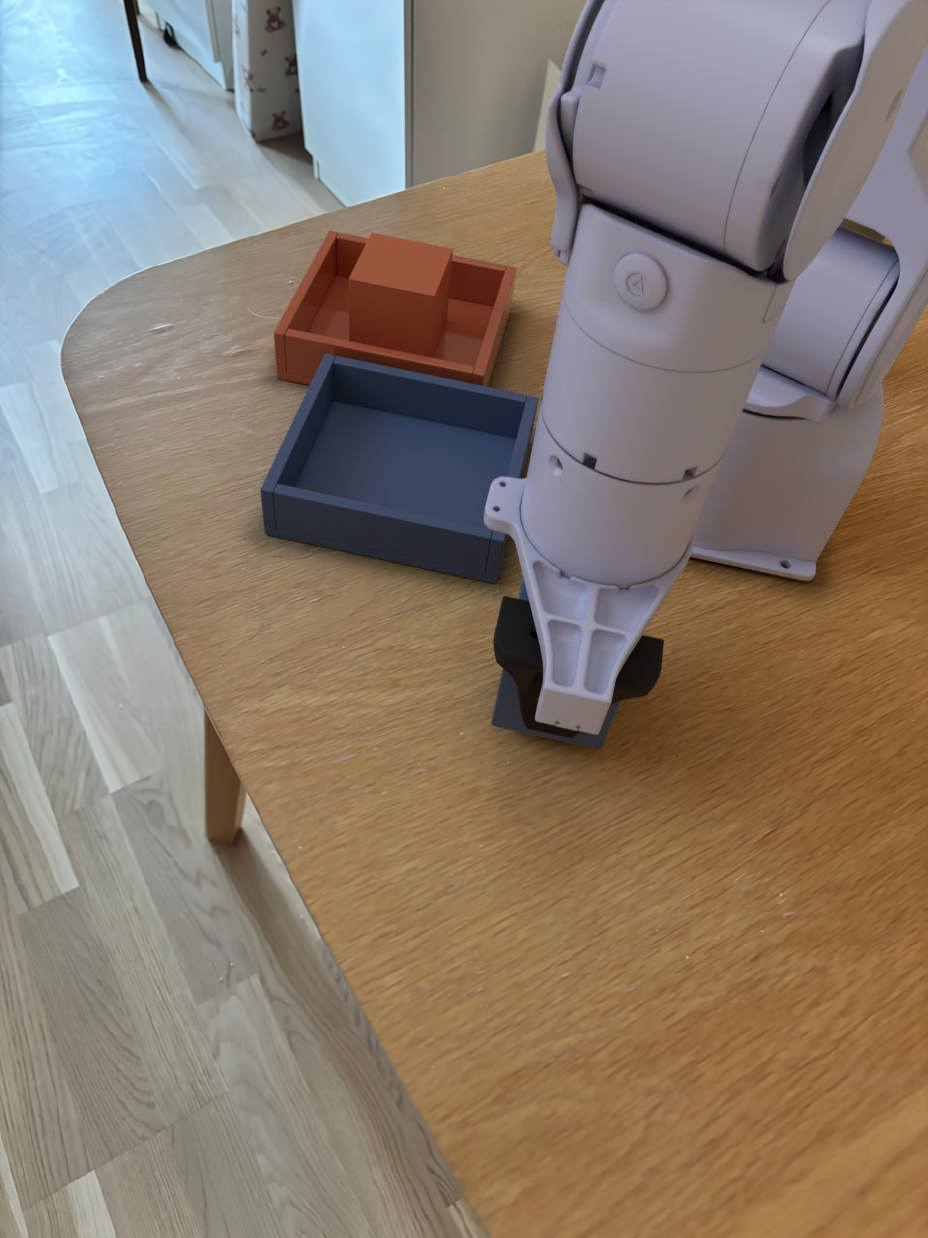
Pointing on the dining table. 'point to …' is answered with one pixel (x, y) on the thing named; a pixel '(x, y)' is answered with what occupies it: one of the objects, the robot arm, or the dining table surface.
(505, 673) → the blue block
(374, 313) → the terracotta block
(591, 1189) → the dining table surface
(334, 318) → the terracotta bin
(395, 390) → the blue bin
